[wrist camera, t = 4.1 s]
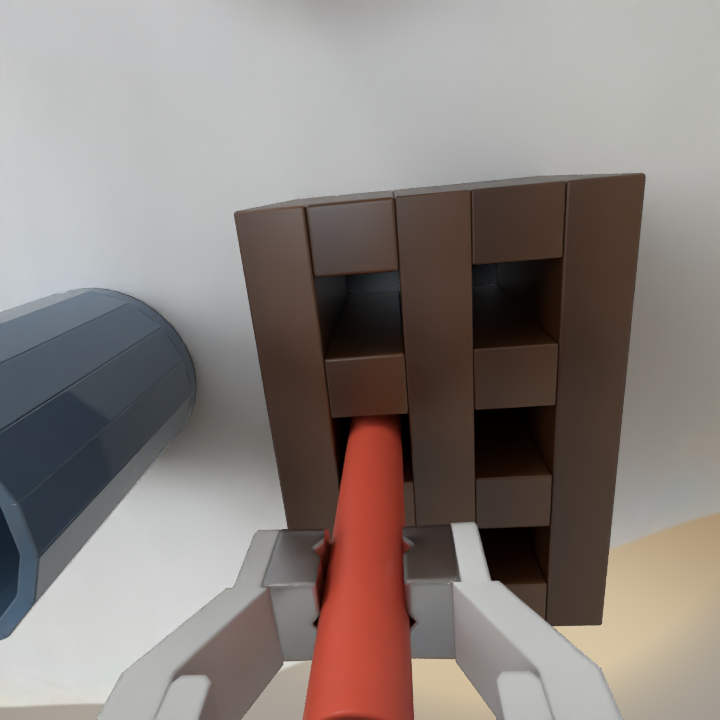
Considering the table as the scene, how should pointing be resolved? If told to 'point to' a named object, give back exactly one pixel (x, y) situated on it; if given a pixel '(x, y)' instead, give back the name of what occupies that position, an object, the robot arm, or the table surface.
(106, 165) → the table surface
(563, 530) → the caddy
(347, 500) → the straw
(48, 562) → the tumbler
